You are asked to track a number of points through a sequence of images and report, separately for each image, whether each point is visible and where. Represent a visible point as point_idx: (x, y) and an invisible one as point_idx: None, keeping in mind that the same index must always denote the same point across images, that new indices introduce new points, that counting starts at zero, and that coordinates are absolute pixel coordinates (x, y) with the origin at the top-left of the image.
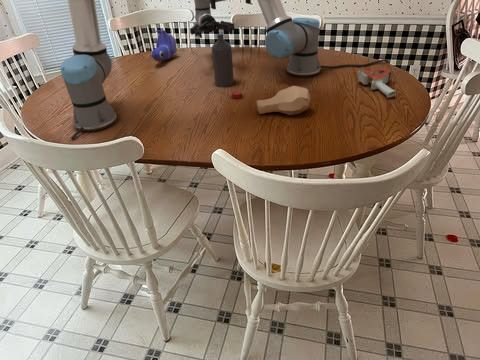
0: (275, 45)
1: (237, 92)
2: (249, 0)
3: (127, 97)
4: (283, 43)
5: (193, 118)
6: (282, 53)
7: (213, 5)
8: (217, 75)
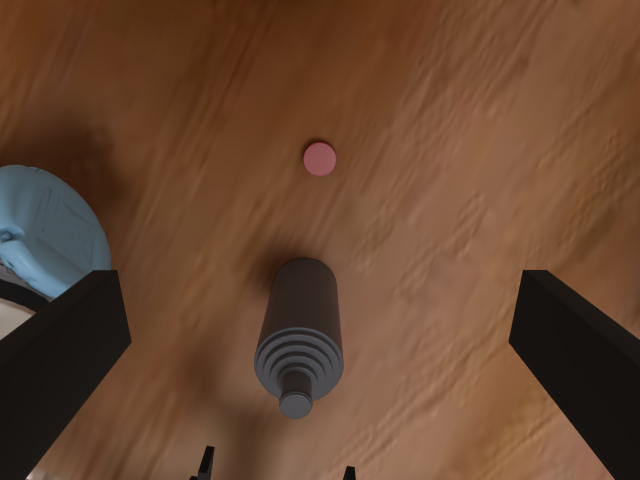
0: (66, 225)
1: (315, 160)
2: (88, 286)
3: None
4: (22, 181)
5: (523, 74)
6: (60, 181)
7: (571, 291)
8: (334, 291)
